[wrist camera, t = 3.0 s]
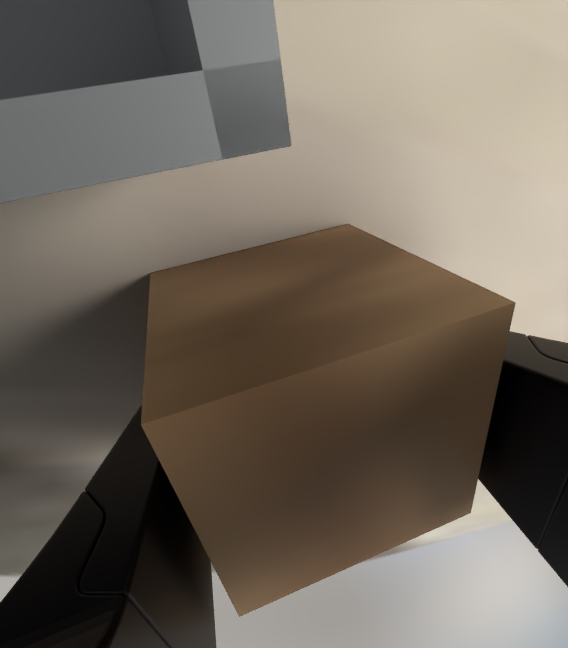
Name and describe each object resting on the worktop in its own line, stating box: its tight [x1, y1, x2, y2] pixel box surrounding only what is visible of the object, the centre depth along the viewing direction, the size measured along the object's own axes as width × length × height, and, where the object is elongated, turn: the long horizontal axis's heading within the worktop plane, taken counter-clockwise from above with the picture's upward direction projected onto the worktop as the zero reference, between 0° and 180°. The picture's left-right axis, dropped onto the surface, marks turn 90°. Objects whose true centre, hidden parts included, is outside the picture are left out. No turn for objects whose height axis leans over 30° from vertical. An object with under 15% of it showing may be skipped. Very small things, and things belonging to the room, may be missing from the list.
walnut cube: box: [141, 224, 515, 616], centre depth 8 cm, size 5×5×5 cm
